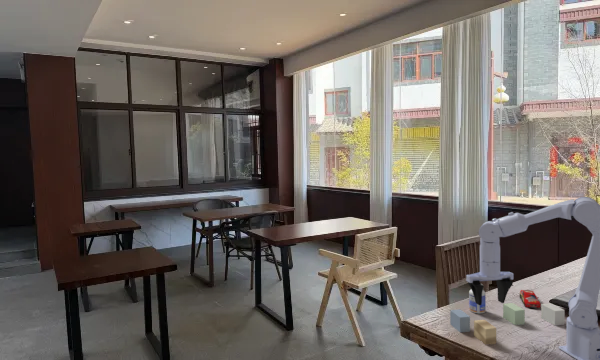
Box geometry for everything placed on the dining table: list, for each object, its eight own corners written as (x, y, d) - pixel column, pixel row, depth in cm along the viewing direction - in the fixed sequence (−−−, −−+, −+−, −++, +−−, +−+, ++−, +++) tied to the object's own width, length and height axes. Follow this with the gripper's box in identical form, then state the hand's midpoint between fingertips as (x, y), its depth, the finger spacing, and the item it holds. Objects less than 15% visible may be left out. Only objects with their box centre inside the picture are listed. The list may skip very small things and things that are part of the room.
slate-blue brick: (470, 331, 127) (470, 316, 126) (460, 332, 126) (459, 317, 126) (460, 323, 133) (460, 309, 132) (450, 324, 132) (450, 310, 132)
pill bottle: (484, 308, 144) (484, 282, 143) (486, 314, 139) (486, 287, 138) (468, 307, 145) (468, 281, 145) (470, 313, 140) (470, 286, 140)
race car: (541, 311, 141) (542, 300, 141) (524, 309, 143) (524, 298, 143) (534, 297, 153) (534, 287, 153) (518, 296, 155) (518, 286, 155)
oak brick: (496, 344, 118) (496, 327, 118) (485, 345, 118) (485, 329, 118) (484, 334, 124) (484, 319, 124) (474, 336, 124) (474, 320, 123)
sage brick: (524, 324, 130) (524, 309, 130) (514, 325, 130) (515, 310, 130) (512, 316, 136) (512, 302, 136) (503, 317, 136) (503, 303, 136)
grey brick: (564, 324, 129) (564, 310, 129) (554, 325, 129) (554, 311, 128) (550, 317, 135) (550, 303, 135) (541, 318, 135) (541, 304, 134)
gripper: (503, 255, 127) (503, 296, 128) (461, 258, 125) (461, 300, 126) (518, 261, 120) (517, 304, 121) (473, 264, 118) (473, 308, 119)
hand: (489, 302), depth 123 cm, fingers open, 7 cm apart
